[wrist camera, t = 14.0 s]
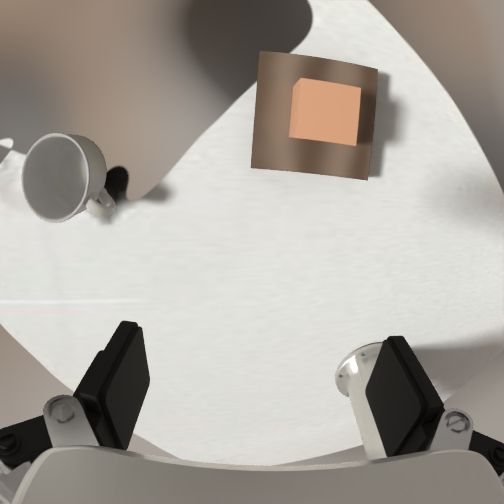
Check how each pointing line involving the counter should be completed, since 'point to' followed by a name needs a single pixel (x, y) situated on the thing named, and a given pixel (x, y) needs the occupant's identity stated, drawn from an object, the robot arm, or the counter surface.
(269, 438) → the counter surface
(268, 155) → the walnut base
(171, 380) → the counter surface
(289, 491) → the robot arm
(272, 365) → the counter surface
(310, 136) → the terracotta cube
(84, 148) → the teacup
